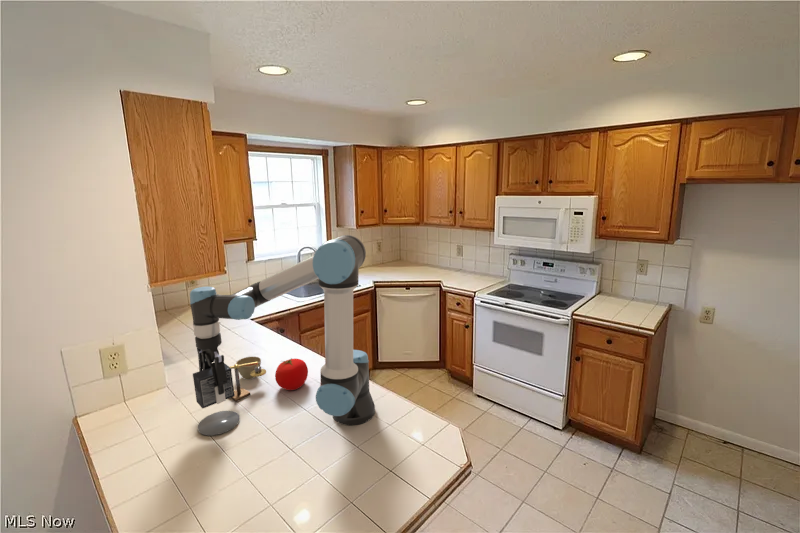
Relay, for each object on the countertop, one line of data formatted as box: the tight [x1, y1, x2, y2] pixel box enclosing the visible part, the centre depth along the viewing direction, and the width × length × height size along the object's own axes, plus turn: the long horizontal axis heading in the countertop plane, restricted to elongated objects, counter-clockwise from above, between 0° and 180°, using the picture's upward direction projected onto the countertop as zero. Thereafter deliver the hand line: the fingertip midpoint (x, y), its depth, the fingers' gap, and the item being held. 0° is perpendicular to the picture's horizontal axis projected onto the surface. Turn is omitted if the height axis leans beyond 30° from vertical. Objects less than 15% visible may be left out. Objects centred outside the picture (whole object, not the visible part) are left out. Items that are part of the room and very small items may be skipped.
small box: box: [192, 362, 235, 409], centre depth 127 cm, size 11×6×10 cm, turn 135°
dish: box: [197, 410, 241, 437], centre depth 130 cm, size 13×13×1 cm
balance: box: [229, 362, 267, 403], centre depth 147 cm, size 6×24×15 cm, turn 142°
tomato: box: [274, 357, 309, 391], centre depth 154 cm, size 12×14×11 cm
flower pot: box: [235, 356, 262, 381], centre depth 163 cm, size 10×10×7 cm
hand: (215, 398), depth 128 cm, fingers closed on small box, 7 cm apart
